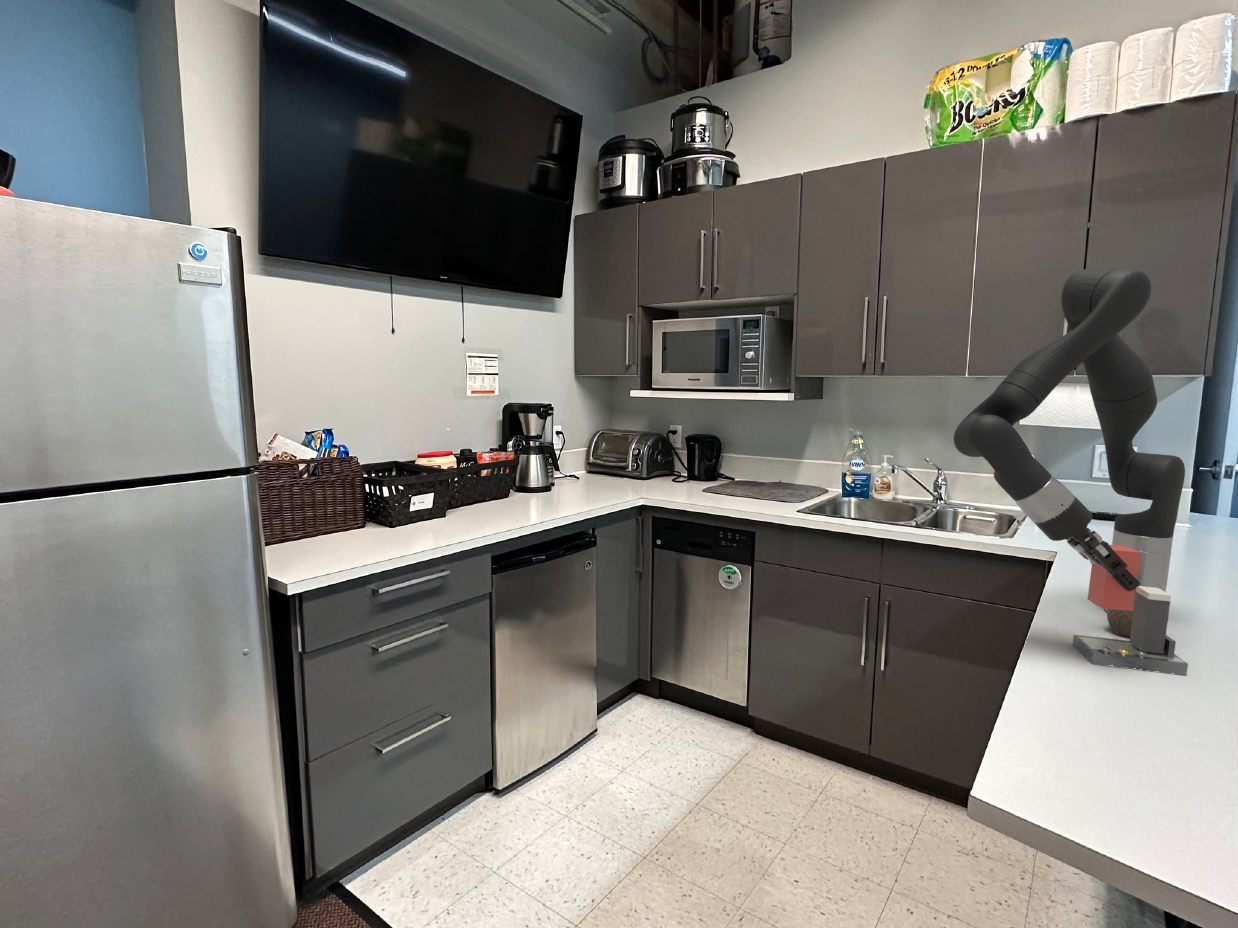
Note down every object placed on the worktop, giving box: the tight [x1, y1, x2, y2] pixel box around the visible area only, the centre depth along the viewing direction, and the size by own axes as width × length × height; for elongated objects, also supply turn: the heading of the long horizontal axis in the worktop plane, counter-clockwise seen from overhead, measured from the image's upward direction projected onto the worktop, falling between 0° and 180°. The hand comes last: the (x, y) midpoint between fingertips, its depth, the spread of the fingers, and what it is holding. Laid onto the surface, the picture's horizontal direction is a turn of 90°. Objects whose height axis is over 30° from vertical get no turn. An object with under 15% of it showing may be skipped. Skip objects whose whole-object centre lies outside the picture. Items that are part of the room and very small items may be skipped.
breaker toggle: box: [1129, 586, 1172, 654], centre depth 104 cm, size 3×4×10 cm
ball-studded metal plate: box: [1072, 634, 1189, 676], centre depth 106 cm, size 13×8×5 cm, turn 73°
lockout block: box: [1087, 544, 1140, 611], centre depth 105 cm, size 4×4×10 cm
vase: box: [1106, 588, 1136, 638], centre depth 117 cm, size 7×7×9 cm
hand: (1125, 582), depth 105 cm, fingers closed on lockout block, 4 cm apart
